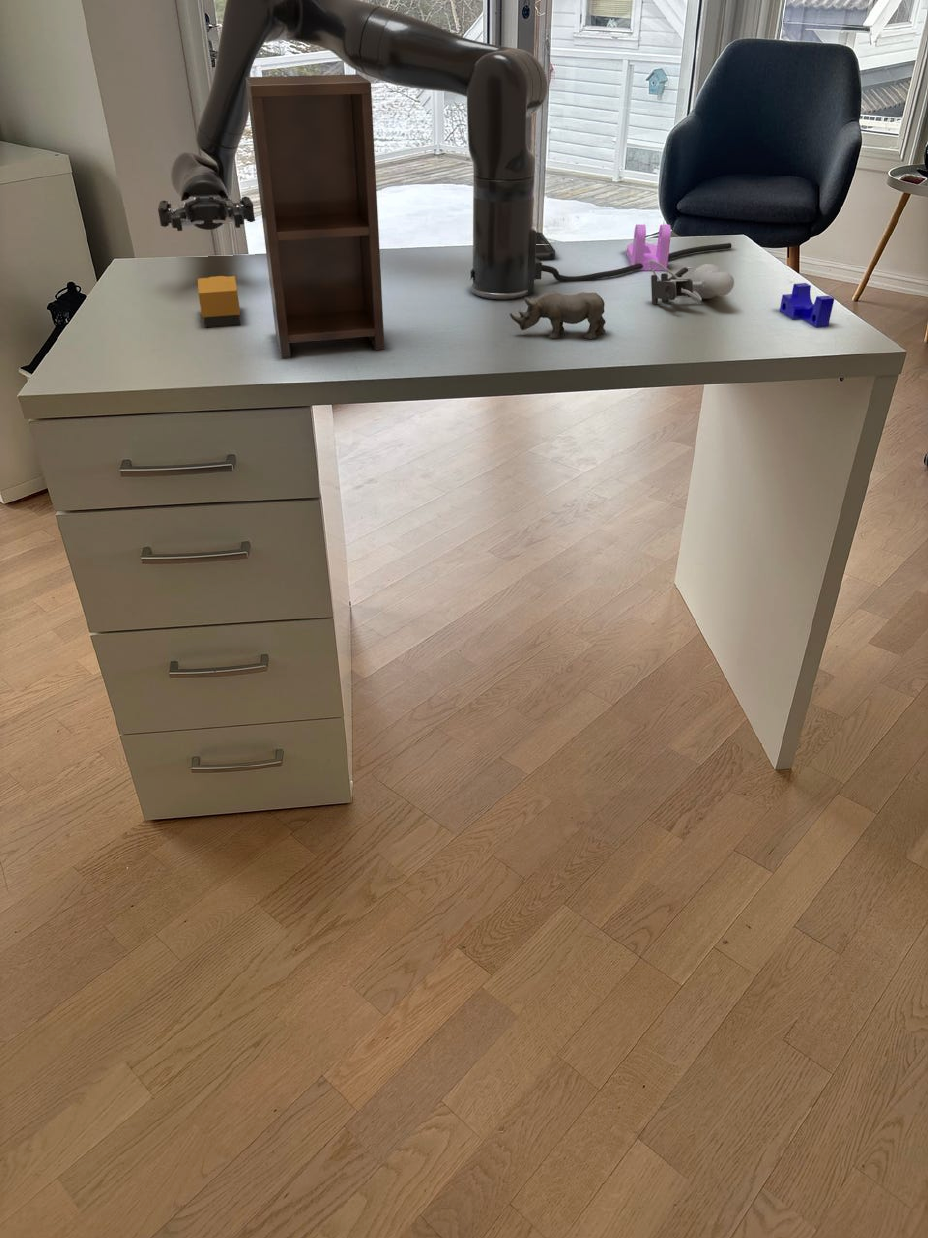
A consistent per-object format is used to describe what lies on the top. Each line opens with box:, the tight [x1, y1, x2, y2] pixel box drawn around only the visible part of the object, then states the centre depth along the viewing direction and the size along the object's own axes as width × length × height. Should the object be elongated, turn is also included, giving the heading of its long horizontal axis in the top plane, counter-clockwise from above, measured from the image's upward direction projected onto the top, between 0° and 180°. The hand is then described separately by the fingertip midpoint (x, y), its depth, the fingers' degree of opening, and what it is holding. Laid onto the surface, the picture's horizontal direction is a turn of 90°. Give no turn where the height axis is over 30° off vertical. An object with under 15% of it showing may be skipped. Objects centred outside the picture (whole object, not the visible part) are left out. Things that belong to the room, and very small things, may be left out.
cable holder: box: [779, 282, 835, 328], centre depth 138 cm, size 8×4×4 cm, turn 13°
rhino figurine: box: [509, 291, 607, 340], centre depth 131 cm, size 4×14×6 cm, turn 89°
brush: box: [197, 275, 241, 328], centre depth 141 cm, size 5×18×5 cm, turn 14°
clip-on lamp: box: [650, 260, 735, 305], centre depth 146 cm, size 12×6×18 cm
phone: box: [535, 231, 556, 261], centre depth 171 cm, size 8×1×15 cm
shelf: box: [246, 74, 385, 359], centre depth 121 cm, size 14×9×32 cm, turn 104°
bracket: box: [626, 224, 672, 271], centre depth 163 cm, size 13×6×7 cm, turn 179°
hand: (208, 222), depth 139 cm, fingers open, 8 cm apart
